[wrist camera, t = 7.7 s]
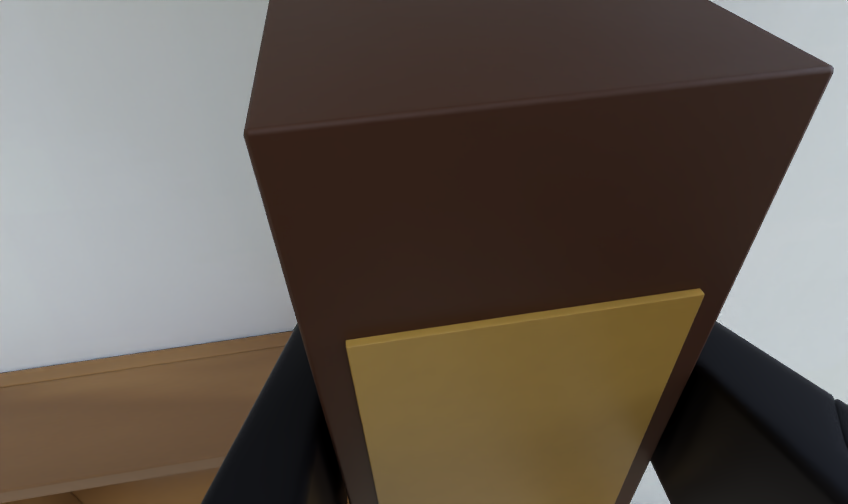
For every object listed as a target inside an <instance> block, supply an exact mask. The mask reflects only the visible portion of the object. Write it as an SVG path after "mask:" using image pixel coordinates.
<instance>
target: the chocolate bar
mask: <svg viewBox="0 0 848 504" xmlns="http://www.w3.org/2000/svg"><path fill="white" fill-rule="evenodd" d="M833 70H834V68H833V67H832V66H831V65H829V64H827V63H825V62H823V61H822V60H820V59H818V58H816V57H814V56H812V55H810V54H808V53H807V52H805V51H803V50H801V49H799V48H797V47H795V46H793V45H792V44H790V43H788V42H786V41H784V40H782V39H780V38H778V37H777V36H775V35H773V34H771V33H769V32H767V31H765V30H763V29H762V28H760V27H758V26H756V25H754V24H752V23H750V22H748V21H747V20H745V19H743V18H741V17H739V16H737V15H735V14H733V13H732V12H730V11H728V10H726V9H724V8H722V7H720V6H718V5H716V4H715V3H713V2H711V1H709V0H269V5H268V11H267V16H266V21H265V26H264V31H263V36H262V41H261V47H260V52H259V57H258V62H257V67H256V72H255V77H254V83H253V88H252V93H251V98H250V103H249V108H248V113H247V119H246V124H245V129H244V139H245V142H246V146H247V149H248V153H249V156H250V159H251V163H252V166H253V170H254V173H255V177H256V180H257V184H258V187H259V191H260V194H261V198H262V201H263V205H264V208H265V212H266V215H267V219H268V222H269V225H270V229H271V232H272V236H273V239H274V243H275V246H276V250H277V253H278V257H279V260H280V264H281V267H282V271H283V274H284V278H285V281H286V285H287V288H288V291H289V295H290V298H291V302H292V305H293V309H294V312H295V316H296V319H297V323H298V326H299V330H300V333H301V337H302V340H303V344H304V347H305V351H306V354H307V357H308V361H309V364H310V368H311V371H312V375H313V378H314V382H315V385H316V389H317V392H318V396H319V399H320V403H321V406H322V410H323V413H324V417H325V420H326V423H327V427H328V430H329V434H330V437H331V441H332V444H333V448H334V451H335V455H336V458H337V462H338V465H339V469H340V472H341V476H342V479H343V483H344V486H345V489H346V493H347V496H348V500H349V503H350V504H630V502H631V500H632V497H633V495H634V493H635V491H636V489H637V487H638V485H639V483H640V481H641V478H642V476H643V474H644V472H645V470H646V468H647V466H648V464H649V461H650V459H651V457H652V455H653V453H654V451H655V449H656V447H657V445H658V442H659V440H660V438H661V436H662V434H663V432H664V430H665V428H666V426H667V423H668V421H669V419H670V417H671V415H672V413H673V411H674V409H675V406H676V404H677V402H678V400H679V398H680V396H681V394H682V392H683V390H684V387H685V385H686V383H687V381H688V379H689V377H690V375H691V373H692V370H693V368H694V366H695V364H696V362H697V360H698V358H699V356H700V354H701V351H702V349H703V347H704V345H705V343H706V341H707V339H708V337H709V334H710V332H711V330H712V328H713V326H714V324H715V322H716V320H717V318H718V315H719V313H720V311H721V309H722V307H723V305H724V303H725V301H726V298H727V296H728V294H729V292H730V290H731V288H732V286H733V284H734V282H735V279H736V277H737V275H738V273H739V271H740V269H741V267H742V265H743V262H744V260H745V258H746V256H747V254H748V252H749V250H750V248H751V246H752V243H753V241H754V239H755V237H756V235H757V233H758V231H759V229H760V227H761V224H762V222H763V220H764V218H765V216H766V214H767V212H768V210H769V207H770V205H771V203H772V201H773V199H774V197H775V195H776V193H777V191H778V188H779V186H780V184H781V182H782V180H783V178H784V176H785V174H786V171H787V169H788V167H789V165H790V163H791V161H792V159H793V157H794V155H795V152H796V150H797V148H798V146H799V144H800V142H801V140H802V138H803V135H804V133H805V131H806V129H807V127H808V125H809V123H810V121H811V119H812V116H813V114H814V112H815V110H816V108H817V106H818V104H819V102H820V99H821V97H822V95H823V93H824V91H825V89H826V87H827V85H828V83H829V80H830V78H831V76H832V74H833Z"/></svg>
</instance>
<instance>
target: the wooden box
mask: <svg viewBox="0 0 848 504" xmlns="http://www.w3.org/2000/svg"><path fill="white" fill-rule="evenodd" d="M292 332H293V331H289V332H282V333H275V334H268V335H261V336H254V337H247V338H240V339H233V340H226V341H219V342H212V343H206V344H199V345H192V346H185V347H178V348H171V349H164V350H157V351H150V352H143V353H136V354H129V355H123V356H116V357H109V358H102V359H95V360H88V361H81V362H74V363H67V364H60V365H53V366H46V367H40V368H33V369H26V370H19V371H12V372H5V373H0V504H201V502H202V500H203V498H204V496H205V495H206V493H207V491H208V489H209V487H210V485H211V483H212V482H213V480H214V478H215V476H216V474H217V472H218V470H219V468H220V467H221V465H222V463H223V461H224V459H225V457H226V455H227V453H228V452H229V450H230V448H231V446H232V444H233V442H234V440H235V439H236V437H237V435H238V433H239V431H240V429H241V427H242V425H243V424H244V422H245V420H246V418H247V416H248V414H249V412H250V411H251V409H252V407H253V405H254V403H255V401H256V399H257V397H258V396H259V394H260V392H261V390H262V388H263V386H264V384H265V383H266V381H267V379H268V377H269V375H270V373H271V371H272V369H273V368H274V366H275V364H276V362H277V360H278V358H279V356H280V355H281V353H282V351H283V349H284V347H285V345H286V343H287V341H288V340H289V338H290V336H291V334H292ZM347 504H350V503H349V500H348V496H347Z"/></svg>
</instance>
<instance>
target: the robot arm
mask: <svg viewBox="0 0 848 504" xmlns="http://www.w3.org/2000/svg"><path fill="white" fill-rule="evenodd" d="M650 461H651V463H652V465H653V467H654V469H655V471H656V474H657V476H658V478H659V480H660V482H661V484H662V486H663V488H664V490H665V493H666V495H667V497H668V499H669V501H670V503H671V504H848V405H847V404H845V403H844V402H842V401H840V400H838V399H836V400H834V398H833V396H832V395H831V394H829V393H828V392H826V391H825V390H823V389H821V388H820V387H818V386H817V385H815V384H814V383H812V382H810V381H809V380H807V379H806V378H804V377H803V376H801V375H799V374H798V373H796V372H795V371H793V370H792V369H790V368H788V367H787V366H785V365H784V364H782V363H781V362H779V361H778V360H776V359H774V358H773V357H771V356H770V355H768V354H767V353H765V352H763V351H762V350H760V349H759V348H757V347H756V346H754V345H752V344H751V343H749V342H748V341H746V340H745V339H743V338H742V337H740V336H738V335H737V334H735V333H734V332H732V331H731V330H729V329H727V328H726V327H724V326H723V325H721V324H720V323H718V322H715V324H714V326H713V328H712V330H711V332H710V334H709V337H708V339H707V341H706V343H705V345H704V347H703V349H702V351H701V354H700V356H699V358H698V360H697V362H696V364H695V366H694V368H693V370H692V373H691V375H690V377H689V379H688V381H687V383H686V385H685V387H684V390H683V392H682V394H681V396H680V398H679V400H678V402H677V404H676V406H675V409H674V411H673V413H672V415H671V417H670V419H669V421H668V423H667V426H666V428H665V430H664V432H663V434H662V436H661V438H660V440H659V442H658V445H657V447H656V449H655V451H654V453H653V455H652V457H651V459H650ZM201 504H347V493H346V489H345V486H344V483H343V479H342V476H341V472H340V469H339V465H338V462H337V458H336V455H335V451H334V448H333V444H332V441H331V437H330V434H329V430H328V427H327V423H326V420H325V417H324V413H323V410H322V406H321V403H320V399H319V396H318V392H317V389H316V385H315V382H314V378H313V375H312V371H311V368H310V364H309V361H308V357H307V354H306V351H305V347H304V344H303V340H302V337H301V333H300V330H299V326H298V323H297V325H296V327H295V328H294V330H293V332H292V334H291V336H290V338H289V340H288V341H287V343H286V345H285V347H284V349H283V351H282V353H281V355H280V356H279V358H278V360H277V362H276V364H275V366H274V368H273V369H272V371H271V373H270V375H269V377H268V379H267V381H266V383H265V384H264V386H263V388H262V390H261V392H260V394H259V396H258V397H257V399H256V401H255V403H254V405H253V407H252V409H251V411H250V412H249V414H248V416H247V418H246V420H245V422H244V424H243V425H242V427H241V429H240V431H239V433H238V435H237V437H236V439H235V440H234V442H233V444H232V446H231V448H230V450H229V452H228V453H227V455H226V457H225V459H224V461H223V463H222V465H221V467H220V468H219V470H218V472H217V474H216V476H215V478H214V480H213V482H212V483H211V485H210V487H209V489H208V491H207V493H206V495H205V496H204V498H203V500H202V502H201Z"/></svg>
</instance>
